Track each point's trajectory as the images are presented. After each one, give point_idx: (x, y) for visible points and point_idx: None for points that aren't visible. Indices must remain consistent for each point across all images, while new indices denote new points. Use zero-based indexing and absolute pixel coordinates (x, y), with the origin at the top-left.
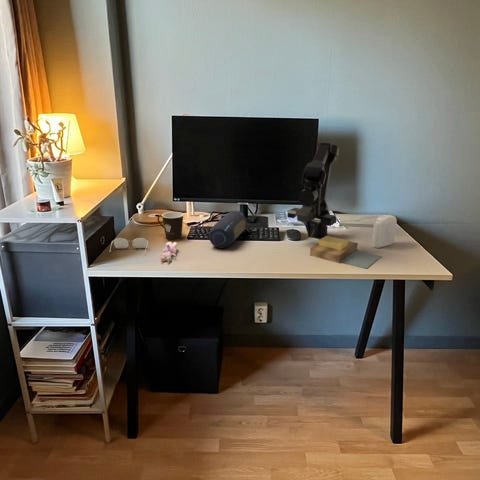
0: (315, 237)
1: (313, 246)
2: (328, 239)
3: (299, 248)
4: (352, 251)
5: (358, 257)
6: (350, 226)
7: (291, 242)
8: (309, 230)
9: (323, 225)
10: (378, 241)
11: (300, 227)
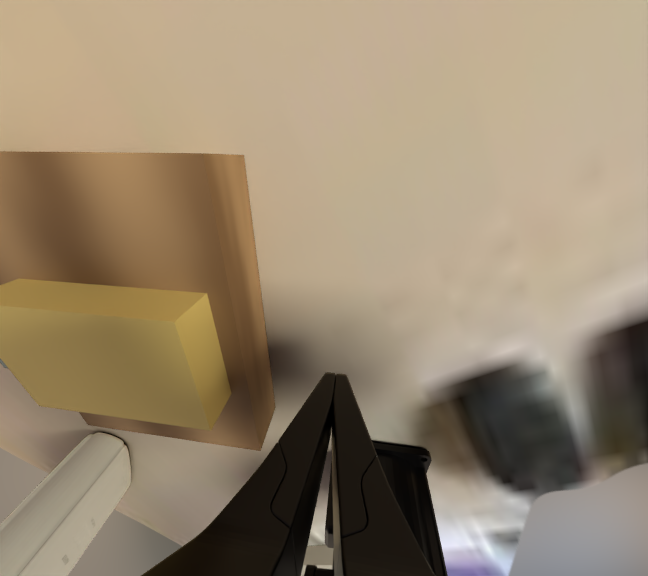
0: (374, 444)
1: (213, 224)
2: (133, 369)
3: (396, 255)
4: None
5: None
6: (307, 547)
7: (503, 334)
8: (333, 447)
9: (333, 550)
10: (63, 464)
11: (506, 518)
